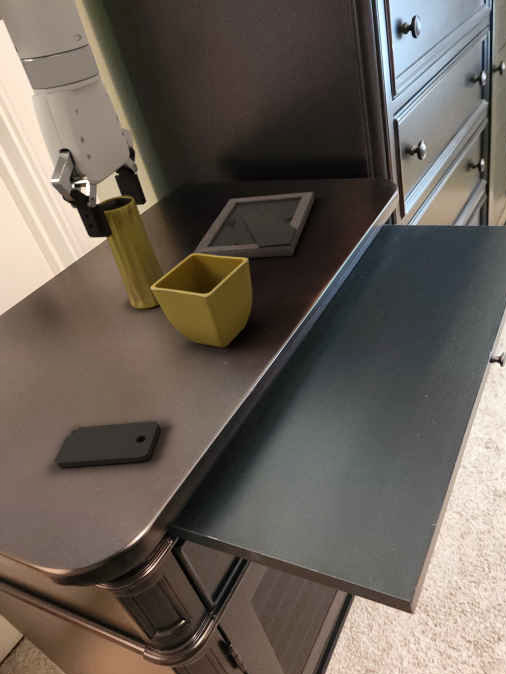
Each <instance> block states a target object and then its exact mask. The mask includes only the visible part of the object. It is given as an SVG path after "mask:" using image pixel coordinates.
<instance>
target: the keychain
mask: <svg viewBox="0 0 506 674" xmlns="http://www.w3.org/2000/svg"><path fill="white" fill-rule="evenodd" d="M159 425H160V424H159V422H158V421H156V420H153V421H152V420H151V421H140V422H139V421H138V422H127V423H117V424H103V425H93V426H92V425H91V426H80V427H78V429H73V430H71V432H70V434H69V435H66V437H65V439H64V441H63V442H62V445H61V447H60V449H59V450H58V452H57V454H56V456H55V458H54V462H55V464H56V465H57V467H58V468H71V467H73V468H74V467H86V466H87V467H88V466H99V465H113V464H126V463H128V464H129V463H137V462H139V463H140V462H146V461H148V460H149V459H150V458H151V457H152V453H153V451H154V447H155V444H156V441H157V439H158V437H159V433H160V430H161V427H160V426H159Z"/></svg>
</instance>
